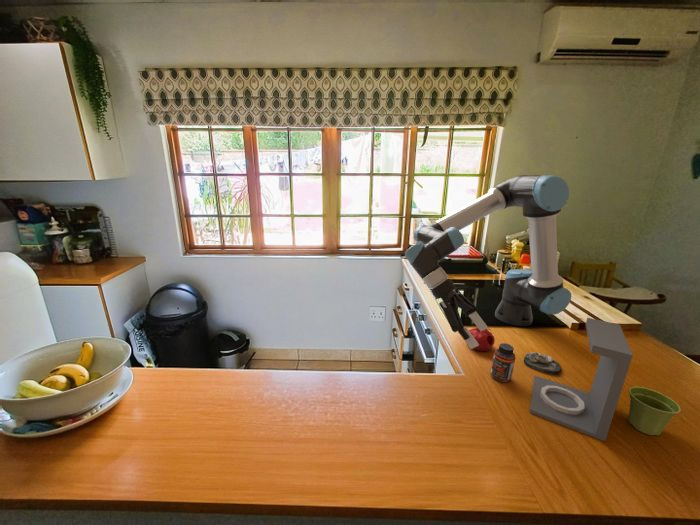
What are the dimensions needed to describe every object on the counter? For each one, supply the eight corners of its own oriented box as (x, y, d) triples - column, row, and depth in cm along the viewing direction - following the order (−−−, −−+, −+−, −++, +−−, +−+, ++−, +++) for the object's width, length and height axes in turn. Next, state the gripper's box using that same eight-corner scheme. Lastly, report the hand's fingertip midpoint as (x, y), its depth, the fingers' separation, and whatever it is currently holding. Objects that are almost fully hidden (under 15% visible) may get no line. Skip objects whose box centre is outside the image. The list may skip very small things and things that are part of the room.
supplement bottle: (487, 377, 96) (493, 346, 93) (493, 369, 100) (499, 339, 97) (507, 386, 92) (514, 353, 89) (513, 377, 96) (519, 346, 93)
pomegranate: (464, 350, 111) (467, 328, 108) (465, 337, 120) (468, 316, 117) (493, 356, 107) (497, 333, 105) (492, 342, 116) (495, 321, 113)
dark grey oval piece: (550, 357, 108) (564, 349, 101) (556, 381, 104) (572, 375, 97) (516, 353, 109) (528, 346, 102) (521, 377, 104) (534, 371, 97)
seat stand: (534, 378, 96) (549, 309, 89) (597, 398, 87) (619, 324, 81) (529, 412, 81) (547, 333, 75) (605, 441, 73) (632, 355, 66)
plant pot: (621, 407, 84) (630, 381, 82) (669, 427, 78) (680, 399, 75) (618, 425, 78) (627, 398, 75) (669, 449, 71) (681, 419, 69)
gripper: (442, 279, 112) (478, 327, 108) (416, 300, 92) (459, 360, 88) (458, 269, 108) (497, 318, 104) (435, 288, 88) (481, 350, 84)
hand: (480, 337), depth 96 cm, fingers open, 13 cm apart
